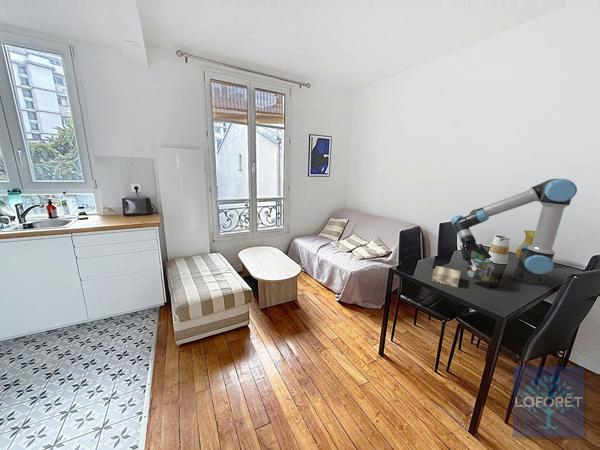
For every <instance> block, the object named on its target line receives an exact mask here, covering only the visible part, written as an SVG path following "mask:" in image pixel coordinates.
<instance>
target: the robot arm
mask: <svg viewBox="0 0 600 450" xmlns="http://www.w3.org/2000/svg"><path fill="white" fill-rule="evenodd" d="M577 192H578V188H577V185H576V184H575V183H574V182H573V181H572V180H570V179H567V178H551V179H548V180H547V179H546V180H545V181H543V182H541V183H539V184H537V185H534V186H531V187H530V188H529V189H528V190H525V191H523V192H520V193H518V194H514V195H512V196H509V197H506V198H504V199H500V200H498V201H496V202H492V203H490V204H487V205H484V206H482V207H479V208H477V209H472V210H471V211H470V212H469V213H468V215H466V216H463V215H455V216H453V217H452V218H451V220H450V222H451V224H452V227H453V229H454V230H455V232H456V234H457V235H458V238H459V240H460V242H461V245H460V246H459V248H460V251H461V255H462V256H461V257H462V260H464V261H465V262H467V264H468V263H469V265H470V266H471V268H472V270H473V271H475V270H477V267H476V265H475V263H474V262H473V260H472V259H471V258H472V252H475V253H476V254H480V255H483V256H485V259H488V260H490V259H491V258H492V255H491V254H490V253H489V251H488V250H487V249H485V248H484V246H483V244H482V243H479V244H478V243H477V242H476V238H475V237H474V235H473V232H472V231H471V229H470V228H472V227H474V226H477V225H478V224H483V223H485V222H486V221H488V220H490V217H492V216H495V215H496V216H497V215H499V214H501V213H504V212H507V211H510V210H513V209H516V208H519V207H523V206H526V205H528V204H531V203H534V202H538V203H540V205H541V206H542V207H541V210H540V213H539V217H538V221H537V224H536V228H535V235H534V238H533V242H532V245H522V244H521V245H522V248H521V252H520V256H519V258H518V260H519V261H518V260H517V265H516V266H515V269H514V270H513V271H512V272H511V278H512V279H513V280H516V281H518V282H520V283H524V284H527V285H534V286H540V285H543V283H544V276H543V275H544V274H548V273H550V272H551V271H553V269H554V261H553V260H554V257H555V251H554V250H553V246H554V244H555V240H556V238H557V235H558V231H559V227H560V223H561V221H562V217H563V213H564V211H565V208H567V207H569V206H570V205H571V201H572V199H573V198H574V197H575V196H576V194H577ZM470 259H471V260H470ZM494 269H495V268H494V266H492V270H494Z"/></svg>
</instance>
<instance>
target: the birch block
mask: <svg viewBox="0 0 600 450" xmlns="http://www.w3.org/2000/svg"><path fill="white" fill-rule="evenodd" d="M461 273H462V271H461V270H458V269H457V270H456V269H452V268H449V267H443V266H439V265H436V266H435V267H434V270H433V271H432V274H431V276H432V277H431V281H432V282H434V281H436V282H435V283H438V282H440V283H439V284H442V283H443V284H444V285H446V284H447V286H451V287H455V288H458V287H459V283H460V278H461Z"/></svg>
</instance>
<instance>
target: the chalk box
mask: <svg viewBox="0 0 600 450" xmlns="http://www.w3.org/2000/svg"><path fill="white" fill-rule="evenodd" d="M471 259H472V260H473V262H474V263H475V265H476V267H477V270H475V271H473V270H472V268H471V266H470V265H469V263H468V262H467V264H466V265H467V266H466V271H465V272H466V273H465V275H466V276H467V277H469V278H472V279H474V280H476V281H479V282H483V281H487V280H491V277H492V271H493V269H492V266H493V264H494V261H493V260H492V259H491V260H488V259H485V256H483V255H480V254H478V253H476V256H474V257H471ZM471 259H470V260H471ZM493 267H494V266H493Z"/></svg>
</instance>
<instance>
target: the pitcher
mask: <svg viewBox="0 0 600 450" xmlns="http://www.w3.org/2000/svg"><path fill="white" fill-rule="evenodd" d="M535 231H536V230H535ZM535 231H534V230H523V232H524V234H525V238H524V240H523V243H522V244H520V245H519V246H518V247H517V249H516V252H515V256H516V258H517V259H519V256H520V252H521V248H522V245H532V242H533V238H534V235H535Z"/></svg>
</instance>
